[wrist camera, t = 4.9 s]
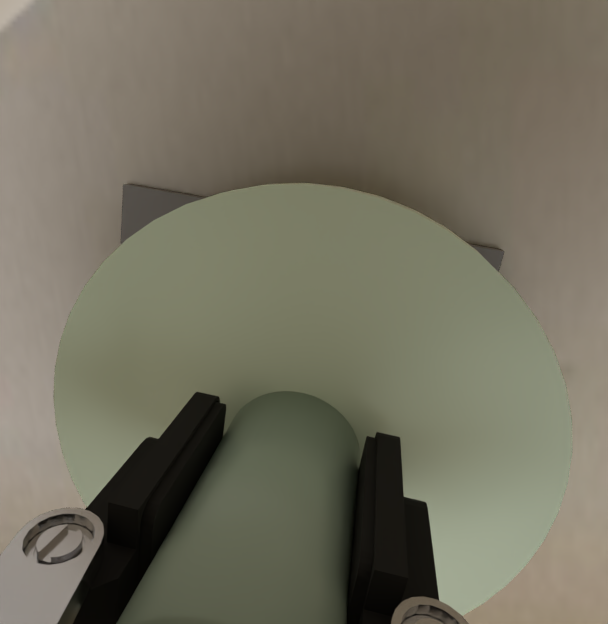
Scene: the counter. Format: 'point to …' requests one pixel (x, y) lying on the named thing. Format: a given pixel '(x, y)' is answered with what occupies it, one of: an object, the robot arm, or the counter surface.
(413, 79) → the counter surface
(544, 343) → the lid
